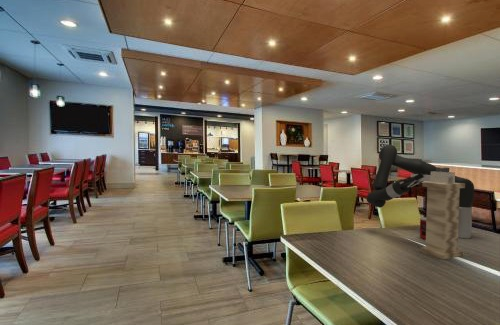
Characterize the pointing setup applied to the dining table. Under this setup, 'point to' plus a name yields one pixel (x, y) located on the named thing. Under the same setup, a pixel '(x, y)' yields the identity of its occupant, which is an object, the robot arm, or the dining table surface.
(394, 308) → the dining table surface
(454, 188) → the stand
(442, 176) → the grey elongated piece
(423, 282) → the dining table surface
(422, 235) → the canned food
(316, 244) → the dining table surface
